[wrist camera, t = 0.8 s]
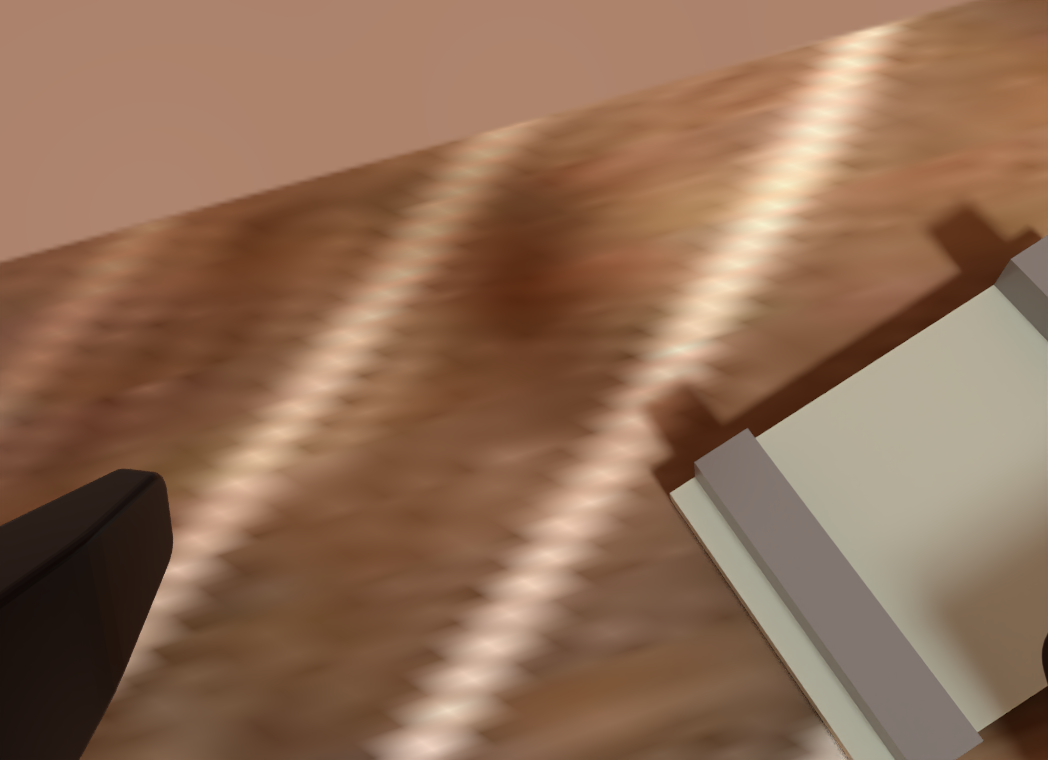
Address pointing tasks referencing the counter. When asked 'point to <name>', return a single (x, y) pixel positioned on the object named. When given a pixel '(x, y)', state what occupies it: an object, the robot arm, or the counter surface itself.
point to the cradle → (902, 529)
